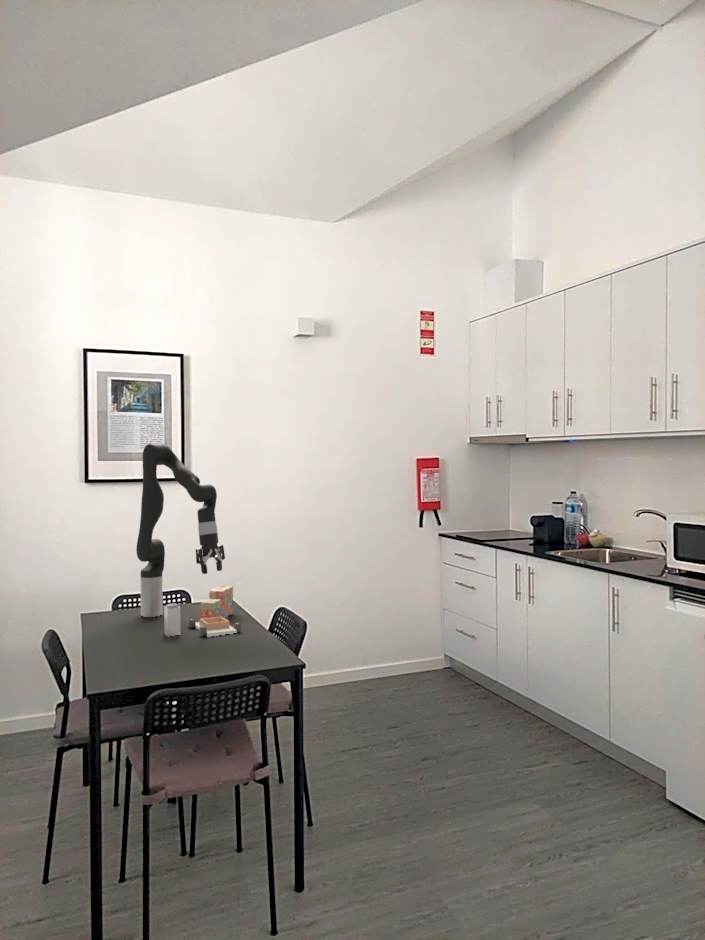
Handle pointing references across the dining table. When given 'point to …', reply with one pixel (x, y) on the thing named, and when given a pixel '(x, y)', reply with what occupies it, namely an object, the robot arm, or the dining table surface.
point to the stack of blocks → (218, 603)
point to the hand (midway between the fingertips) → (212, 572)
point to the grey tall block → (172, 620)
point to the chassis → (214, 626)
